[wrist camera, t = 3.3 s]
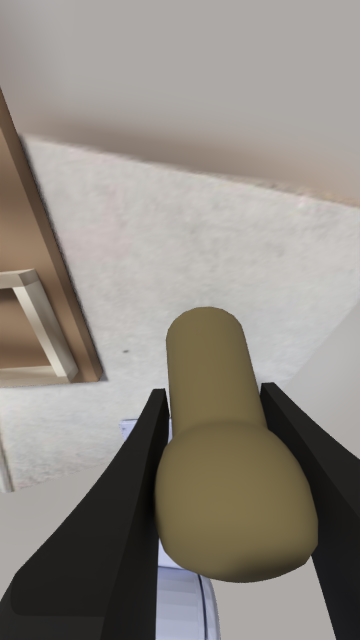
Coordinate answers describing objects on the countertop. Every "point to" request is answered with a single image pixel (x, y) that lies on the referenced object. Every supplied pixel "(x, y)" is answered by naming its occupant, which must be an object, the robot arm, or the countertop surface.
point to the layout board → (35, 284)
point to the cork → (226, 463)
